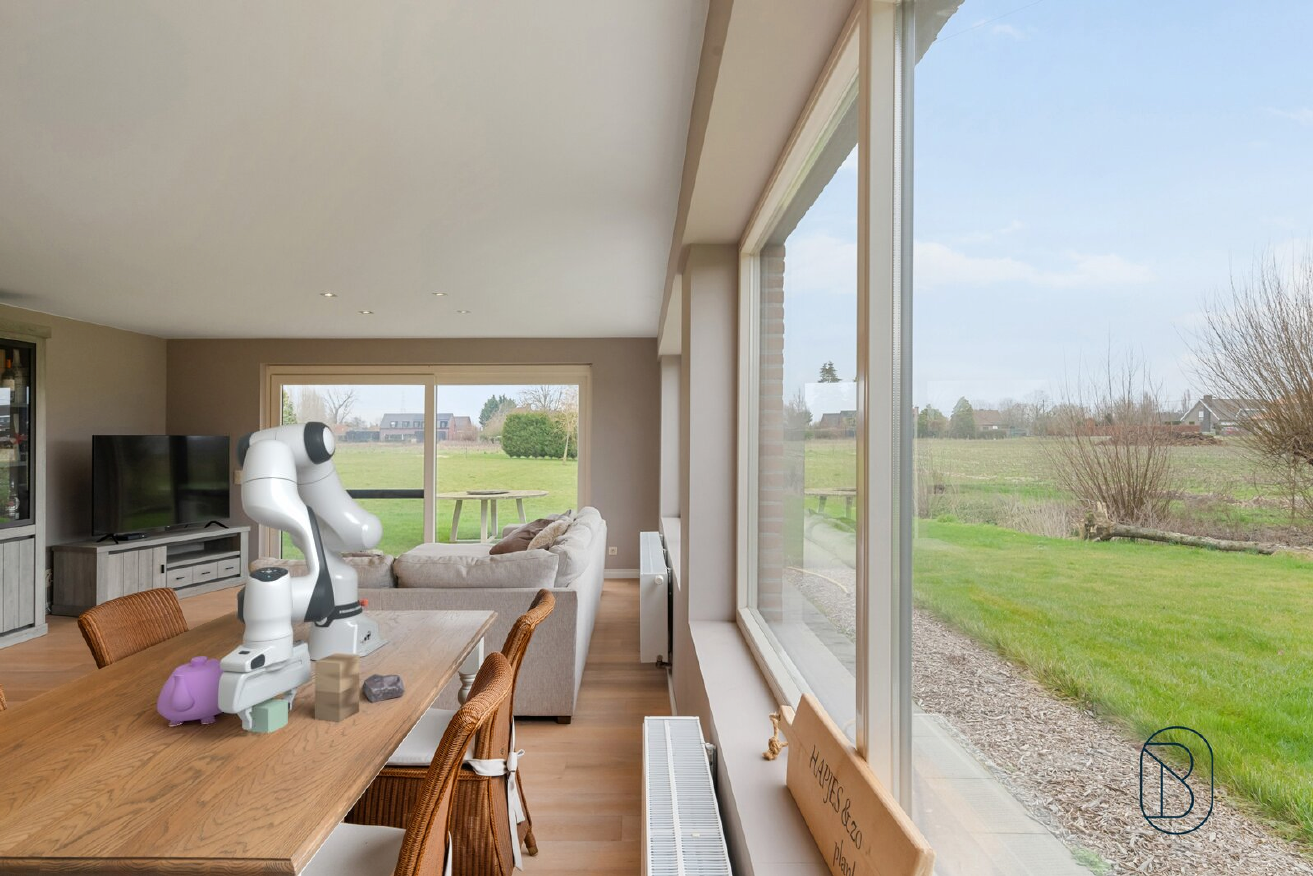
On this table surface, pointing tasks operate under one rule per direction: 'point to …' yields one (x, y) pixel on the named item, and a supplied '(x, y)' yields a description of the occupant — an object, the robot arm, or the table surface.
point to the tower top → (336, 672)
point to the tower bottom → (336, 704)
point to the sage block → (269, 715)
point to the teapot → (191, 692)
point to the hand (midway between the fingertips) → (267, 719)
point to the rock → (383, 687)
